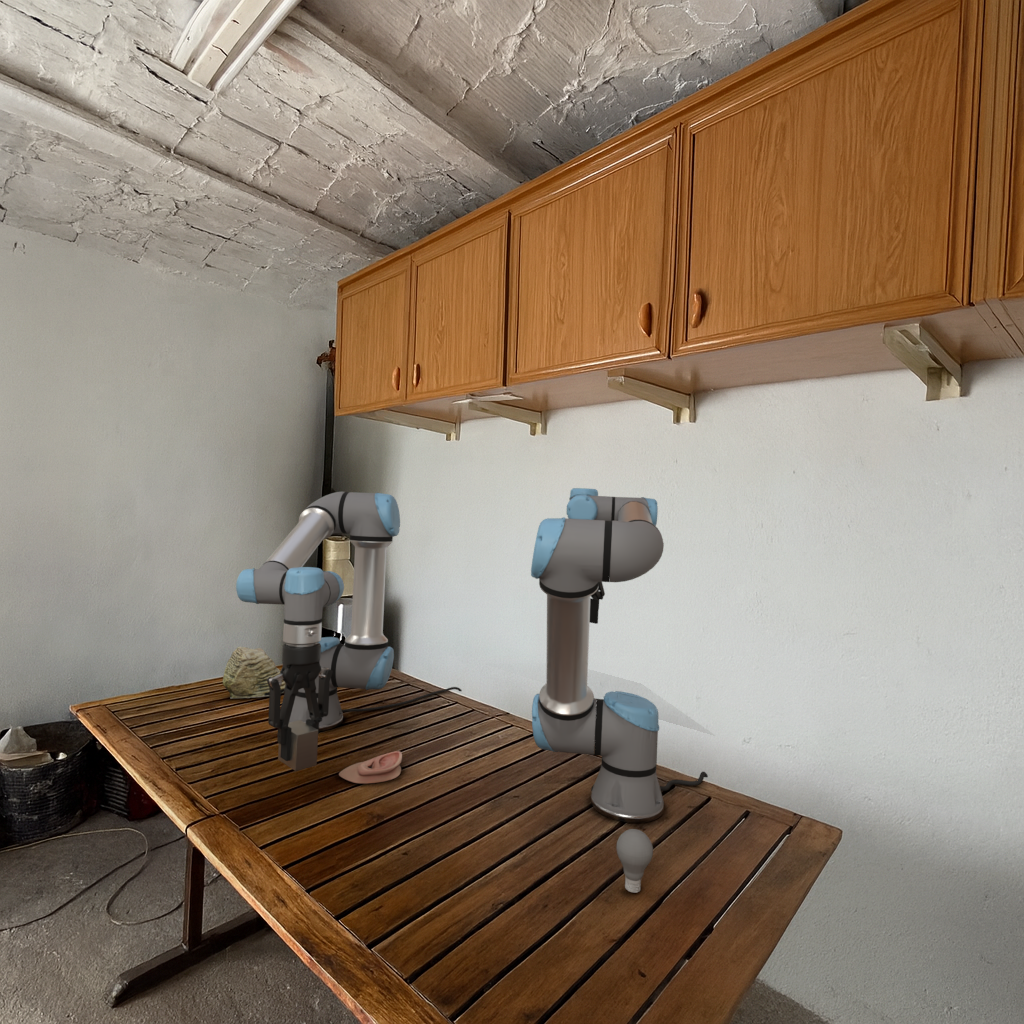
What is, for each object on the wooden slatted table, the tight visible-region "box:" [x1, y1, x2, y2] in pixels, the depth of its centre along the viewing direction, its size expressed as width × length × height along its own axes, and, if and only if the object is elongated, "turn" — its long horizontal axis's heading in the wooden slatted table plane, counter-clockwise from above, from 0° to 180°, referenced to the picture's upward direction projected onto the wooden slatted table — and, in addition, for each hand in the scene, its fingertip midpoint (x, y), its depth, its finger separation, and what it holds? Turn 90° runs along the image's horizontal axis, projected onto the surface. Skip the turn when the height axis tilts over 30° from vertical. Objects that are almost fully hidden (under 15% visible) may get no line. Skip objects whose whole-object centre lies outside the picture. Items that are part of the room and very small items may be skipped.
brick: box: [277, 720, 319, 772], centre depth 131 cm, size 8×5×7 cm, turn 46°
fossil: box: [222, 646, 286, 699], centre depth 198 cm, size 9×18×15 cm, turn 132°
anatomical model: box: [338, 750, 403, 784], centre depth 146 cm, size 13×4×12 cm
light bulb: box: [615, 828, 654, 894], centre depth 106 cm, size 6×6×10 cm
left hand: (297, 755), depth 131 cm, fingers closed on brick, 5 cm apart
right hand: (578, 625), depth 169 cm, fingers open, 13 cm apart
